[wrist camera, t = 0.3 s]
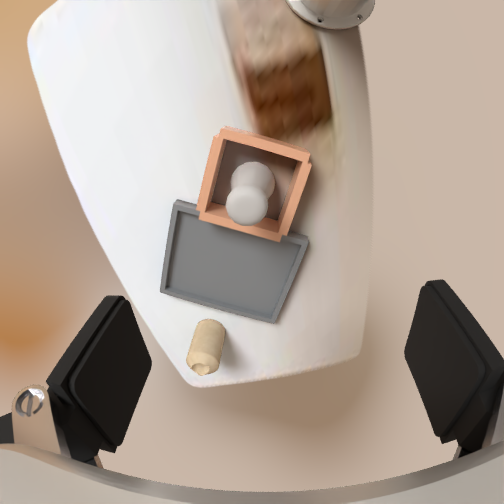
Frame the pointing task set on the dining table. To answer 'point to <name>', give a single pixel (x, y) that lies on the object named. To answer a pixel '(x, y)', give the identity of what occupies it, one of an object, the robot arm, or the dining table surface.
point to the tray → (228, 265)
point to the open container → (281, 227)
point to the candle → (206, 347)
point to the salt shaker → (250, 193)
